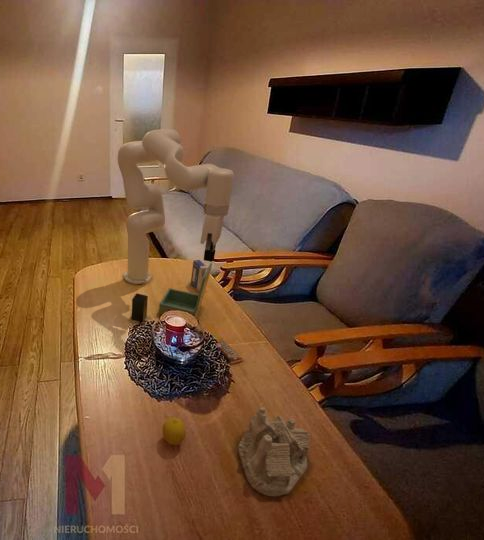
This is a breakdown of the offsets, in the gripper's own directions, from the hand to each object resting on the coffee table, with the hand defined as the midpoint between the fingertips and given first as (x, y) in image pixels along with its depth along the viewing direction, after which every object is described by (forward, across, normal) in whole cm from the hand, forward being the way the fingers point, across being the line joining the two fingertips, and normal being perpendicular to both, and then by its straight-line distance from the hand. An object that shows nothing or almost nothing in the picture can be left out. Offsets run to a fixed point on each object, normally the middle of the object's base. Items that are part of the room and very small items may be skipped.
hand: (208, 260), depth 120 cm
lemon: (+26, +54, +6) cm, 60 cm away
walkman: (+26, -24, -7) cm, 36 cm away
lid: (+12, -3, -1) cm, 13 cm away
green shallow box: (+26, -2, -8) cm, 27 cm away
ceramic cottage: (+26, +48, +29) cm, 62 cm away
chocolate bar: (+26, +14, +12) cm, 32 cm away
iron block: (+26, +9, -21) cm, 34 cm away
